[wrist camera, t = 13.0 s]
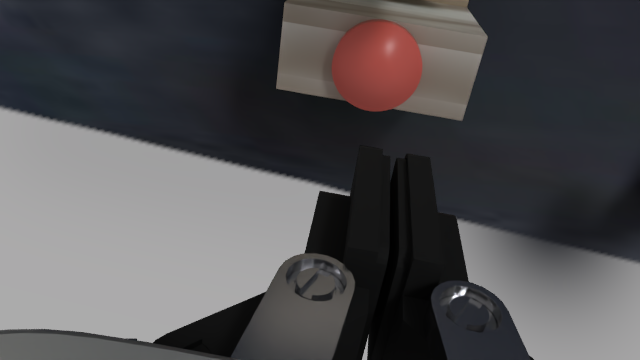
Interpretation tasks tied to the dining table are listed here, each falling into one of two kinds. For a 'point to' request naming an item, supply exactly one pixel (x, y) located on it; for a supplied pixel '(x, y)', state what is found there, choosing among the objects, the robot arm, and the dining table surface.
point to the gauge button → (377, 65)
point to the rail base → (404, 9)
